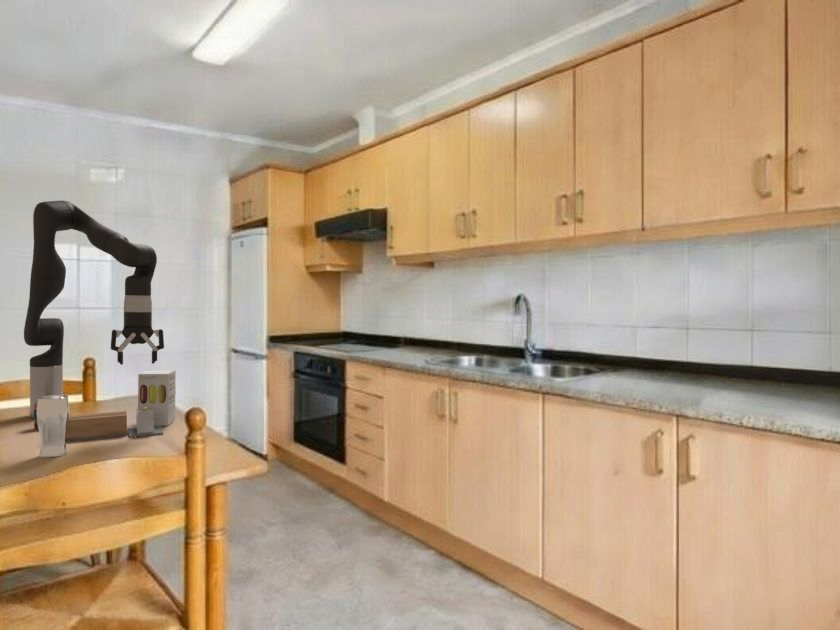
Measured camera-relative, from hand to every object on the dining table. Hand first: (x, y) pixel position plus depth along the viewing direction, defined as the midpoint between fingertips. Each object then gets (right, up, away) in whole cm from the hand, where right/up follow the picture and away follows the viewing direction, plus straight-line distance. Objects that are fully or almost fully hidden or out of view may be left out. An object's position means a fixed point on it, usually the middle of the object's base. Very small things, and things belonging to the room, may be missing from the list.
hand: (137, 363), depth 164 cm
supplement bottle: (-31, -20, +3) cm, 37 cm away
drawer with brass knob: (+3, -20, 0) cm, 20 cm away
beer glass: (-9, -22, -24) cm, 34 cm away
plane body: (-11, -21, -6) cm, 24 cm away
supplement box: (0, -21, +12) cm, 24 cm away
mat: (+3, -21, 0) cm, 21 cm away
